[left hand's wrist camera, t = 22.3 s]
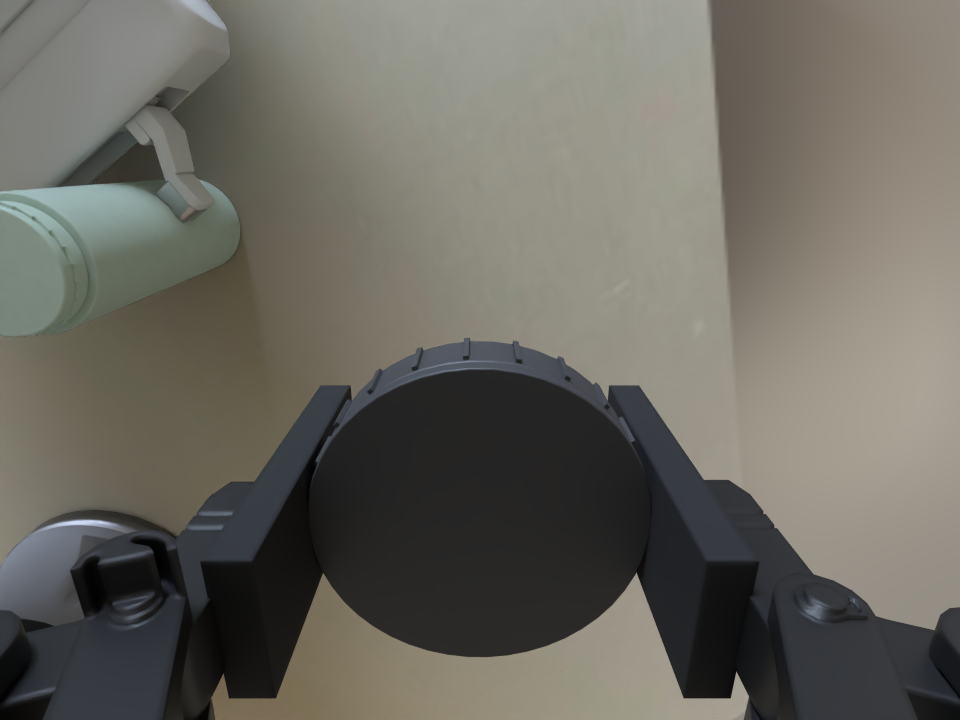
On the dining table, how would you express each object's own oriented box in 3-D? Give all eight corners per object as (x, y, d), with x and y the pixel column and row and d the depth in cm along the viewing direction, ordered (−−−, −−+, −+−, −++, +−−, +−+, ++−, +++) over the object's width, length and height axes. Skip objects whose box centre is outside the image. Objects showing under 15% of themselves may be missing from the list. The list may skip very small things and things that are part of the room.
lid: (309, 579, 13) (287, 632, 12) (347, 304, 11) (326, 328, 9) (585, 626, 14) (598, 682, 12) (677, 372, 11) (706, 405, 10)
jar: (259, 226, 35) (105, 276, 20) (204, 287, 36) (23, 373, 22) (186, 157, 33) (-35, 158, 19) (131, 222, 34) (-114, 270, 20)
